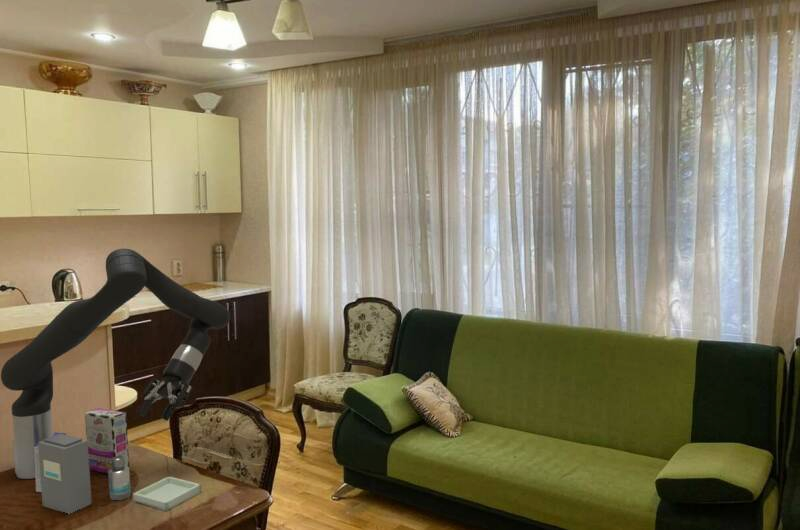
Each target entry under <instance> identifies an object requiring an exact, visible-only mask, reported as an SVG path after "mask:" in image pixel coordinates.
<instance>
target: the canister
mask: <svg viewBox="0 0 800 530" xmlns="http://www.w3.org/2000/svg"><path fill="white" fill-rule="evenodd" d="M107 475H108V486H109V487H108V489H109V499H110V500H111V499H112V500H111V501H113V500H120V501H122V500H121V499H124V500H126V499H125V498H127V497H128V498H130V497H131V496H132V490H131V485H132V484H131V477H130V466H129V467H128V466H124V456H116V457H113V458H112V468H111V469H109V470H108V474H107ZM130 495H131V496H130ZM129 496H130V497H129ZM128 498H127V499H128Z"/></svg>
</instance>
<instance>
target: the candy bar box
mask: <svg viewBox="0 0 800 530" xmlns="http://www.w3.org/2000/svg"><path fill="white" fill-rule="evenodd" d="M84 417H85V419H84V421H85V431H86V435H85V437H86V440H87V441H88V456H89V471H92V470H93V471H92V472H96V471H97V473H100V472H102V474H105V473H106V475H108V470H109V469H111V468H112V458H113V457H116V456H124V466H128V467H129V468H130V459H129V457H130V456H129V455H130V454H129V442H128V441H129V440H128V438H129V437H128V436H129V435H128V422H127V420H128V419H127V412H125V411H120V410H119V411H117V410H112V409H105V408H96V409H92V410H90V411H87V412H84Z"/></svg>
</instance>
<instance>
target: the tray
mask: <svg viewBox="0 0 800 530" xmlns="http://www.w3.org/2000/svg"><path fill="white" fill-rule="evenodd" d="M201 493H202V484H200V483H196V482H193V481H189V480H185V479H181V478H177V477H173V476H167V477H165V478H162V479H160V480H159V481H156V482H154V483H152V484H149V485H148V486H146V487H143V488H142V489H139V490H138V491H136V492H134V493H132V502H133V501H135V502H134V503H136V502H139V503H142V504H141V505H143V504H145V505H144V506H146V505H148V507H150V506H151V507H150V508H153V507H154V509H156V510H161V511H165V512H167V511H169V510H171V509H173V508H174V507H177V506H179V505H180V504H182V503H184V502H186V501H187V500H189V499H192V498H193V497H195V496H197V495H199V494H201ZM139 503H138V504H139Z"/></svg>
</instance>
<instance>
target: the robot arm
mask: <svg viewBox="0 0 800 530" xmlns="http://www.w3.org/2000/svg"><path fill="white" fill-rule="evenodd" d="M105 272H106V278H107V279H106V282H105V284H104V285H103V286H101V289H99V290H98V292H96V293H95V294H94V295H93V296H92V297H90V298H86V299H79V300H76V301H74V302H71V303H70V304H68V305H66V306H65V307H64V308H63V309H62V310H61V311H60V312H59V313H58V314H57V315H56V316H55V317H54V318H53V319H52V320H51V322H49V323H48V324H47V325H46V326H45V327H44V328H43V329H42V330H41V331H40V332H39V333H38V334H37V335H36V337H34V338H33V339H32V341H31V342H29V343H28V344H27V345H26V346H25V347H23V348H22V349H21V350H19V351H18V352H16V353H15V354H14V355H13V356H11V357H10V358H9V359H7V360H6V362H5V363H3V366H2V368H1V372H0V373H1V374H0V380H1V382H2V385H3V386H4V387H5V388H7V389H8V390H9V391H16V392H17V391H22V392H21V394H20V395H19V396H18V398H17V399H16V400H14V402H13V403H12V405H11V415H12V419H11V420H12V432H13V440H12V449H13V450H12V451H13V459H14V472H15V474H16V477H17V478H18V479H23V480H29V479H36V478H35V457H34V447H35V446H36V445H38V442H41V441H43V439H46V438H49V437H52V436H53V435H54V433H53V420H52V419H53V418H52V407H51V406H52V405H51V403H52V400H53V398H54V397H53V396H54V371H53V365H52V362H53V361H55V359H58V358H59V357H62V356H63V355H64V354H66V353H68V352H69V351H71V350H73V349H74V348H77V346H79V345H80V344H81V343H82V342H83V341H85V340H86V339H87V338H88V337H90V335H92V333H93V332H94V331H95V330H96V329H97V328H98V327H100V325H101V324H102V323H103V322H105V321H106V320H107V319H108V318H109V317H110V316H111V315H112V314H113V313H115V311H117V310H118V309H119V308H121V307H122V306H123V305H125V304H126V303H128V302H129V301H130V300H131V299H133V298H134V297H136V296H137V295H138V294H139V293H140V292H141V291H142V290H143V289H144V288H146V289H148V290H149V292H151V293H152V294H153V295H154V296H155V297H156V298H157V299H158V300H159V301H160V302H161V303H162V304H163V305H164V306H166V308H168V309H170V310H171V311H173V312H175V313H177V314H179V315H181V316H183V317H184V318H189V319H191V320H190V323H189V325H188V326H189V327H188V330H187V334H186V335H185V337H184V339H183V340H182V342H181V344H180V345H179V346H178V348H177V349H176V350H175V351H174V353H173V355H172V357H171V358H170V360H169V361H168V363H167V364H166V367H165V368H164V369H163V370H162V371H163V372H162V376H163V377H162V378H161V379H160V380H158V379H156V378H155V377H154V378H152V379H151V380H150V381H149V383H148V384H147V386H146V388H144V390H143V392H142V393H141V395H140V396H141V398H142V399H144V402H143V403H142V404H141V406H140V408H139V410H138V414H139V415H140V416H142V417H147V414H148V413H149V411H150V409H151V408H152V406H153V404H154V403H156V402H157V401H159V400H162V399H168V403H169V404H167V405H166V407H165V409H164V411H163V412H162V414H161V415H160V416H161V417H160V418H161V419H163V420H164V421H166V422H167V421H169V420H170V418H171V417H172V416H173V414H174V412H175V410H176V409H178V408H184V407H185V405H186V403H187V401H188V399H189V398H190V395H191V394H192V391H193V389H194V388H193V387H192V386H191V385H190V381H191V380H192V378H193V376H194V375H195V373H196V371H197V369H198V368H199V366H200V365H201V361H202V359H203V358H204V356H205V354H206V352H207V350H208V349H209V346H210V345H211V342H212V339H211V336H210V335H209V334H208V333H207V332H208V331H209V330H210V329H211V330H220V329H223V328H225V327H227V326H228V325H229V323H230V319H231V314H230V312H229V310H228V309H227V308H226V306H225V305H224V304H221V303H219V302H216V301H215V300H214V301H213V300H211V299H209V298H205V297H202V296H200V295H199V294H197V293H195V292H193V291H192V290H190V289H188V288H186V287H185V286H182V285H181V284H179V282H178V283H177V282H176V281H175V280H173V279H172V278H170V277H169V276H168V275H167V274H166V273H163V272H162V271H161V270H160V269H159V268H157V267H156V266H155V265H153V264H152V263H151V262H150V261H149V260H147V259H146V258H145V257H144V256H143V255H141V254H140V253H139V252H137V251H135V250H133V249H130V248H118V249H115V250H113V251H112V252H110V253H109V254H108V255H107V257H106V259H105Z"/></svg>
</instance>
